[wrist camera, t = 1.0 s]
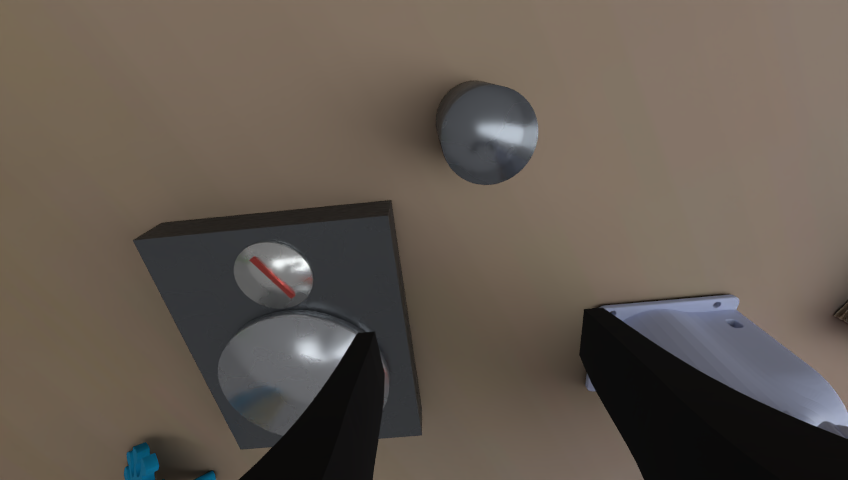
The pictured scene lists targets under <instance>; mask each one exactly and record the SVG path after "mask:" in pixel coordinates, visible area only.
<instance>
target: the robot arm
mask: <svg viewBox="0 0 848 480" xmlns="http://www.w3.org/2000/svg"><path fill="white" fill-rule="evenodd" d="M738 304H739V299H738V298H737V297H736V296H734V295H719V296H708V297H696V298H685V299H674V300H662V301H651V302H640V303H628V304H617V305H605V306H601V307H599V308H592V309H584V316H583V325H582V335H581V344H580V354H579V355H580V357H581V360H582V362H583V365H584V367H585V369H586V372H587V376H586V383H585V385H586V388H587V389H588V390H589V391H596V392H597V394H598V396H599V397H600V399H601V401H602V403H603V404H604V406H605V408H606V410H607V411H608V413H609V415H610V416H611V418H612V420H613V422H614V423H615V425H616V427H617V429H618V430H619V432H620V434H621V436H622V437H623V439H624V441H625V442H626V444H627V446H628V448H629V450H630V451H631V453H632V455H633V457H634V459H635V461H636V463H637V465H638V467H639V469H640V472H641V474H642V476H643V478H644V480H848V412H847V410H846V408H845V406H844V404H843V402H842V401H841V399H840V398H839V396H838V395H837V393H836V392H835V390H834V389H833V388H832V387H831V385H830V384H829V383H828V382H827V381H826V380H825V379H824V378H823V377H822V376H821V375H820V374H819V373H818V372H817V371H815V370H814V369H813V368H812V367H810V366H809V365H808V364H807V363H805V362H804V361H803V360H801V359H800V358H799V357H797V356H796V355H795V354H793V353H792V352H791V351H790V350H788V349H787V348H786V347H784V346H783V345H782V344H780V343H779V342H778V341H776V340H775V339H774V338H773V337H771V336H770V335H769V334H767V333H766V332H765V331H763V330H762V329H761V328H759V327H758V326H757V325H755V324H754V323H753V322H752V321H750V320H749V319H748V318H746V317H745V316H744V315H742V314H741V313H740V312H738V311H737V310H736V309H737V307H738ZM611 311H613V312H612V313H610V312H611ZM384 385H385V373H384V368H383V364H382V359H381V355H380V351H379V346H378V342H377V338H376V333H375V331H373V332H363V333H357V335H356V336H355V337H354V339H353V341H352V342H351V344H350V346H349V347H348V349H347V351H346V352H345V354H344V356H343V357H342V359H341V360H340V362H339V364H338V365H337V367H336V368H335V370H334V371H333V373H332V374H331V376H330V377H329V379H328V380H327V382H326V383H325V384H324V386H323V387H322V389H321V390H320V391H319V393H318V394H317V395H316V397H315V398H314V399H313V401H312V402H311V403H310V405H309V406H308V407H307V408H306V410H305V411H304V412H303V413H302V415H301V416H300V417H299V418H298V420H297V421H296V422H295V423H294V424H293V425H292V426H291V428H290V429H289V430H288V431H287V432H286V433H285V434H284V435H283V436H282V438H281V439H280V440H279V441H278V442H277V443H276V444H275V445H274V446H273V447H272V448H271V449H270V450H269V451H268V452H267V453H266V454H265V455H264V456H263V457H262V458H261V459H260V460H259V461H258V462H257V463H256V464H255V465H254V466H253V467H252V468H251V469H250V470H249V471H248V472H246V473H245V474H244V475H243V476H242V477H241V478H240V479H239V480H373V472H374V465H375V458H376V451H377V445H378V438H379V432H380V425H381V418H382V412H383V405H384Z"/></svg>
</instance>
